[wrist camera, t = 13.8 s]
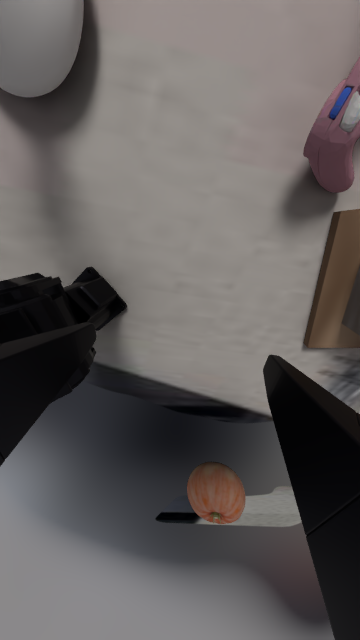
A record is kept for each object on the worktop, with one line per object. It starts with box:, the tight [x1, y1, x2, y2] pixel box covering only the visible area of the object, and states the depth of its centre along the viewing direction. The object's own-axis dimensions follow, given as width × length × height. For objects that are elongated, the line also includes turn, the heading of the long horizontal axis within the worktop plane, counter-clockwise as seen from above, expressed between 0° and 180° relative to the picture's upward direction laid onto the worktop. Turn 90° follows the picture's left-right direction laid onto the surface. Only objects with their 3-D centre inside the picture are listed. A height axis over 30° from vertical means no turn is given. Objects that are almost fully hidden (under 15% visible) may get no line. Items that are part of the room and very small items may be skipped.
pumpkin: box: [187, 462, 245, 524], centre depth 34 cm, size 11×11×8 cm
